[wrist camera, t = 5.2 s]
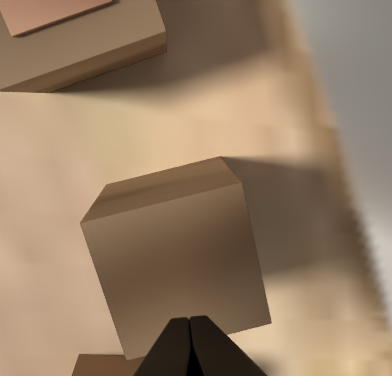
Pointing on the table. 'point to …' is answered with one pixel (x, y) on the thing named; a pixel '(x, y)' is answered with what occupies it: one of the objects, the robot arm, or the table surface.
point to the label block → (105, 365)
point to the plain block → (176, 252)
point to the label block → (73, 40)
